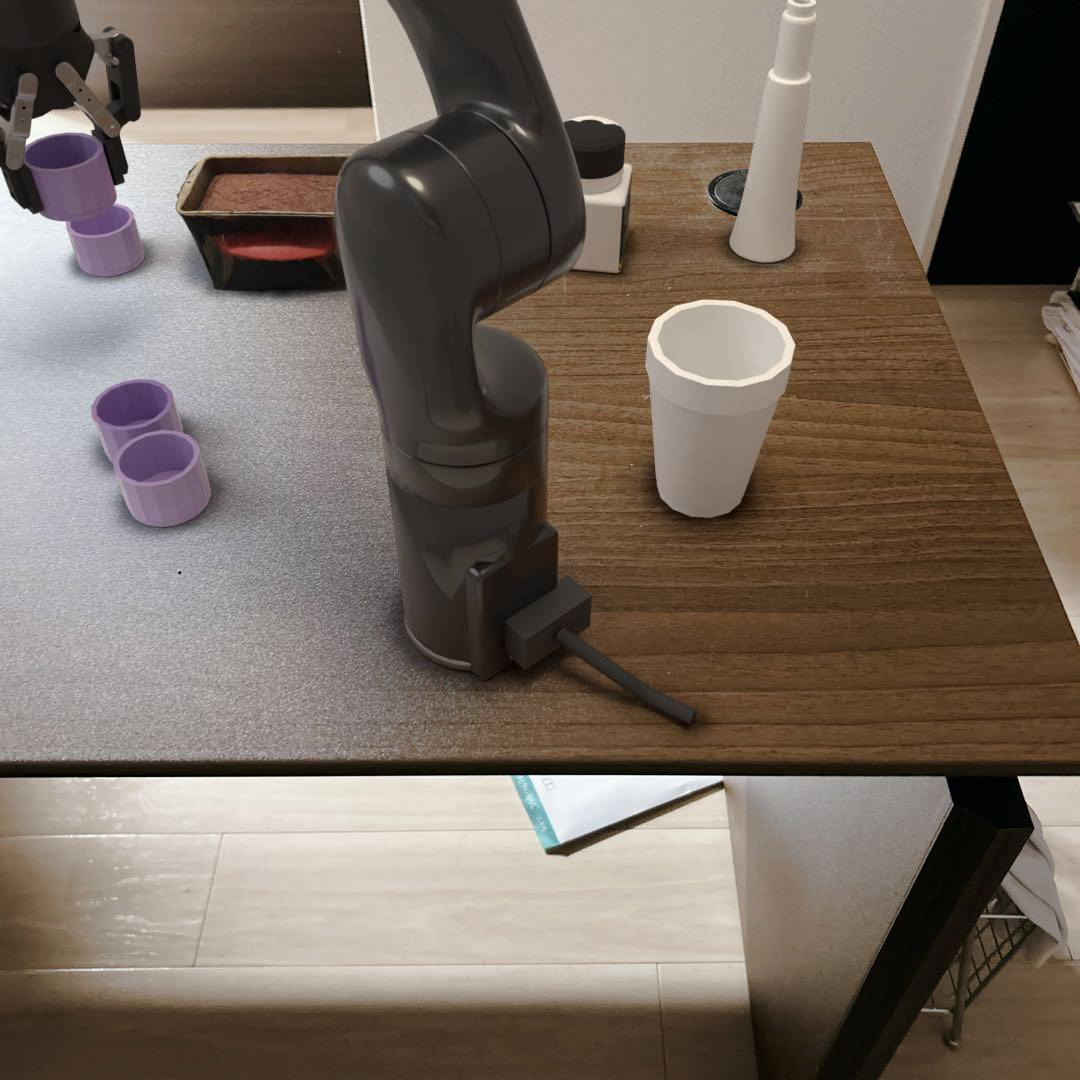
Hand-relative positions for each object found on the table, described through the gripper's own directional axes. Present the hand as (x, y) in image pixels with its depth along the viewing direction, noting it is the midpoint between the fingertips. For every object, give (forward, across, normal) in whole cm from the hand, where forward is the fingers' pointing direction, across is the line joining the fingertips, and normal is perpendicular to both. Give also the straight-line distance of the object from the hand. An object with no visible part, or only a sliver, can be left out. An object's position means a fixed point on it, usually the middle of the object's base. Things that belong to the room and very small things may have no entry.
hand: (75, 193), depth 84 cm
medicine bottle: (+14, +39, -15) cm, 44 cm away
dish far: (+14, +5, +13) cm, 20 cm away
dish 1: (+1, 0, 0) cm, 1 cm away
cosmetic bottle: (+14, +52, -25) cm, 59 cm away
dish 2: (+14, -5, -13) cm, 19 cm away
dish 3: (+14, -6, -19) cm, 24 cm away
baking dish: (+14, +18, +2) cm, 23 cm away
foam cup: (+14, +24, -44) cm, 51 cm away
